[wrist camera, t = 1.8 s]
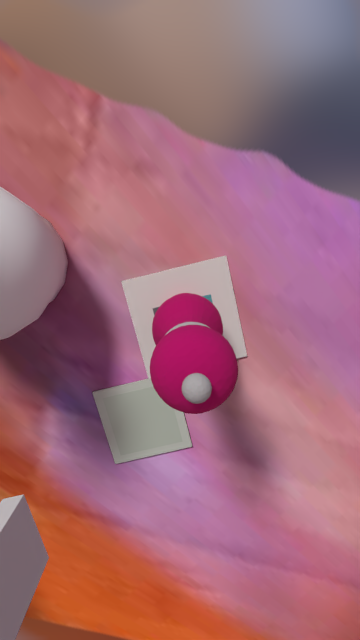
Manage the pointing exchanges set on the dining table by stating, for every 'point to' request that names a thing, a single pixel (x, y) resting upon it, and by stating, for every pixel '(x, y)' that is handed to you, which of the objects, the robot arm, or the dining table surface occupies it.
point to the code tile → (193, 278)
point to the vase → (27, 264)
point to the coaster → (140, 421)
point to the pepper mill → (191, 355)
